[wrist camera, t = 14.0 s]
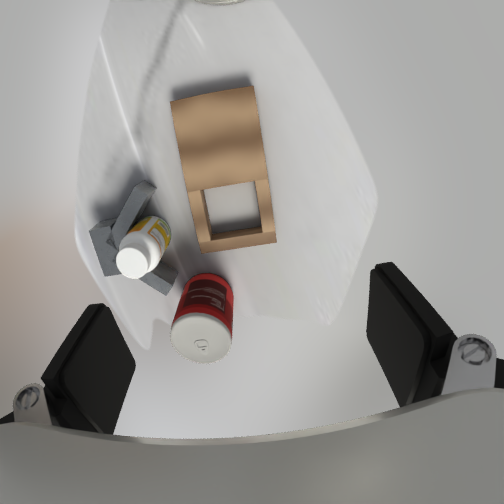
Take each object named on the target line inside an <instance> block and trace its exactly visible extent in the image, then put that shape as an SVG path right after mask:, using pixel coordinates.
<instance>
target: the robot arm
mask: <svg viewBox="0 0 504 504" xmlns="http://www.w3.org/2000/svg"><path fill="white" fill-rule="evenodd" d="M195 1H197V2H201V3H204V4H210V5H229V4H235V3H239V2H242V1H245V0H195ZM368 306H369V307H368V319H367V330H366V332H367V338H368V341H369V343H370V345H371V346H372V349H373V351H374V353H375V355H376V357H377V359H378V361H379V363H380V365H381V367H382V369H383V372H384V374H385V376H386V378H387V380H388V382H389V384H390V386H391V388H392V391H393V393H394V395H395V397H396V399H397V401H398V404H399V406H400V408H397V409H393V410H390V411H386V412H383V413H379V414H375V415H371V416H367V417H363V418H358V419H354V420H350V421H346V422H341V423H337V424H332V425H327V426H322V427H316V428H311V429H305V430H298V431H292V432H284V433H277V434H268V435H259V436H248V437H234V438H214V439H165V438H164V439H163V438H162V439H161V438H144V437H143V438H142V437H130V436H120V435H113V433H114V429H115V426H116V423H117V420H118V417H119V414H120V411H121V408H122V405H123V402H124V399H125V396H126V393H127V390H128V387H129V385H130V382H131V379H132V376H133V374H134V371H135V366H136V365H135V360H134V358H133V356H132V354H131V352H130V350H129V348H128V346H127V344H126V342H125V340H124V338H123V336H122V334H121V332H120V330H119V327H118V325H117V323H116V321H115V319H114V317H113V314H112V312H111V310H110V308H109V307H106V305H104V304H103V303H100V304H91V305H89V306H88V307H87V308H86V309H85V311H84V312H83V314H82V315H81V317H80V318H79V319H78V321H77V322H76V324H75V325H74V327H73V328H72V330H71V331H70V333H69V334H68V336H67V337H66V339H65V340H64V342H63V343H62V345H61V346H60V348H59V349H58V351H57V352H56V354H55V356H54V357H53V359H52V360H51V362H50V364H49V365H48V367H47V368H46V370H45V372H44V373H43V375H42V377H41V379H42V381H43V382H44V384H45V387H44V389H43V387H42V386H41V385H40V384H36V383H33V384H29V385H26V386H24V387H23V388H22V389H20V390H19V392H18V393H17V394H16V395H15V398H14V400H13V412H11V413H10V414H8V415H6V416H5V417H3V418H1V419H0V504H504V360H503V359H499V358H496V349H495V348H494V345H493V344H492V343H491V342H490V341H489V340H487V339H486V338H485V337H483V336H480V335H476V334H467V335H463V336H461V337H459V338H457V337H456V335H455V334H454V333H453V331H452V330H451V328H450V327H449V326H448V325H447V324H446V322H445V321H444V320H443V319H442V318H441V316H440V315H439V314H438V313H437V312H436V310H435V309H434V308H433V307H432V306H431V304H430V303H429V302H428V301H427V300H426V299H425V298H424V296H423V295H422V294H421V293H420V292H419V291H418V290H417V289H416V287H415V286H414V285H413V284H412V283H411V282H410V281H409V280H408V278H407V277H406V276H405V275H404V274H403V273H402V272H401V271H400V270H399V269H398V268H397V266H396V265H395V264H394V263H393V262H387V263H382V264H376V266H375V269H372V270H371V272H370V291H369V305H368Z"/></svg>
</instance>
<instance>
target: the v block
mask: <svg viewBox="0 0 504 504" xmlns="http://www.w3.org/2000/svg"><path fill="white" fill-rule="evenodd" d="M155 190H156V187H154V186H152V185H151V184H149V183H148V182H146V181H145V180H144V181H143V182H141V183H139V184H138V185H136V186H135V187H134V189H133V190H132V192H131V194H130V196H129V198H128V200H127V201H126V203H125V205H124V207H123V209H122V211H121V213H120V215H119V217H118V218H113V219H109V220H105V221H101V222H100V223H98V224H97V225H96V226H94V227H93V228H92V229H91V230H89V233H90V236H91V239H92V242H93V245H94V248H95V251H96V254H97V256H98V259H99V262H100V265H101V268H102V270H103V273H104V276H111V275H118V274H122V273H121V272H120V271H119V269H118V267H117V264H116V257H117V254H118V252H119V246H120V243H121V241H122V239H123V238H124V237H125V236H126V235H127V234H128V233H129V232H130V230H131V229H132V228H133V227H134V226H135V224H136V223H137V221H138V219H139V217H140V216H141V214H142V212H143V210H144V209H145V207H146V205H147V203H148V202H149V200H150V198H151V197H152V195H153V193H154V192H155ZM177 274H178V272H177V271H176V270H174V269H173V268H171V267H169V266H168V265H166V264H165V263H163V262H161V261H159V263H158V264H157V266H156V267H155V268H154V269H153V270H152V271H150V272H148V273H146V274H145V275H144V276H142V277H141V278H138V279H140V280H141V281H143V282H145V283H146V284H148V285H149V286H151V287H153V288H154V289H156V290H158V291H159V292H161V293H162V294H164V295H167V294H168V292H169V291H170V289H171V288H172V286H173V284H174V282H175V279H176V277H177Z"/></svg>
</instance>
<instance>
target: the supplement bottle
mask: <svg viewBox="0 0 504 504" xmlns="http://www.w3.org/2000/svg"><path fill="white" fill-rule="evenodd" d="M170 240H171V231H170V228H169V226H168V225H167V223H166V222H165V221H164V220H162V219H161V218H159V217H156V216H148V217H145V218H143V219H141V220H140V221H139V222H138V223H137V224H136V225H135V226H134V227H133V228H132V229H131V230H130V232H129V233H128V234H127V235H126V236H125V237H124V238H123V239H122V241H121V243H120V246H119V252H118V254H117V257H116V264H117V267H118V269H119V271H120V272H121V273H122V274H123V275H125V276H126V277H128V278H132V279H137V278H141V277H142V276H144V275H145V274H146V273H148V272H150V271H152V270H153V269H154V268H155V267H156V266H157V264H158V263H159V261H160V259H161V257H162V255H163V254H164V252H165V250H166V248H167V246H168V245H169V242H170Z"/></svg>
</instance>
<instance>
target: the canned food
mask: <svg viewBox="0 0 504 504" xmlns="http://www.w3.org/2000/svg"><path fill="white" fill-rule="evenodd" d="M233 299H234V297H233V292H232V290H231V288H230V286H229V284H228V283H227V282H226V281H225V280H224V279H223V278H221V277H220V276H218V275H215V274H212V273H202V274H198V275H196V276H194V277H193V278H191V279H190V280H189V281H188V282H187V283H186V285H185V287H184V290H183V292H182V295H181V298H180V301H179V304H178V307H177V311H176V314H175V317H174V320H173V323H172V327H171V332H170V340H171V343H172V346H173V347H174V349H175V350H176V351H177V353H178V354H180V355H181V356H182V357H184V358H186V359H187V360H190V361H192V362H196V363H202V364H209V363H214V362H217V361H220V360H221V359H223V358H224V357H225V356H226V355H227V354H228V352H229V351H230V348H231V343H232V324H233Z"/></svg>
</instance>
